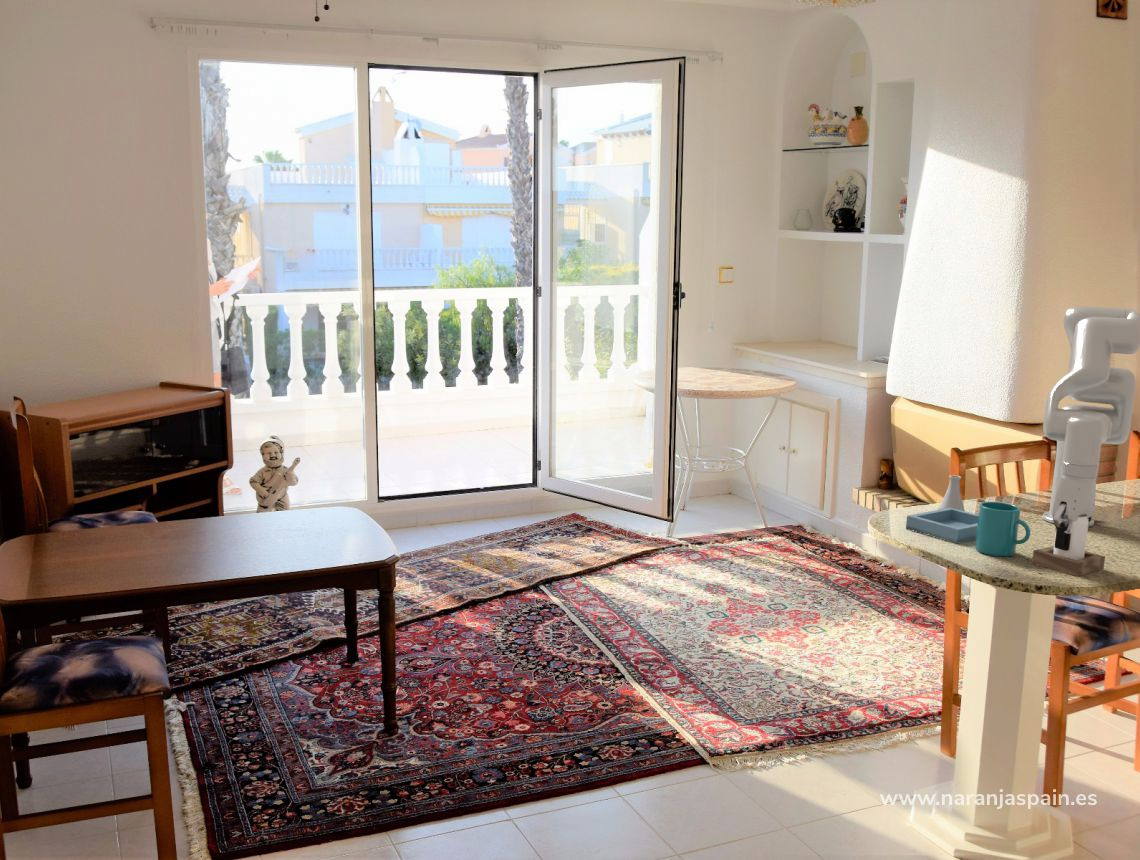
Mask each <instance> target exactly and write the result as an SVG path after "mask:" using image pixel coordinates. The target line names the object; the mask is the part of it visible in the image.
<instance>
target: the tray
mask: <svg viewBox="0 0 1140 860" xmlns="http://www.w3.org/2000/svg"><path fill="white" fill-rule="evenodd" d="M978 515H979V514H977V513H973V512H969V511H962V510H958V509H954V508H945V509H940V510H939V509H935V510H930V511H924V512H919V513H914V514H909V515H907V516H906V522H905V523H906V524H905V530H908V529H910V530H909V531H911V530H914V531H913V532H915V531H917V532H916V533H918V532H921V533H920V534H922V533H925V534H929V535H932V536H935V537H934V538H936V537H938V538H937V539H939V538H942V539H941V540H943V539H945V540H944V541H946V540H948V541H947V542H950V541H951V542H950V543H953V542H954V544H960V543H959V542H962V543H965V541H966V542H970V541H969V540H971V541H976V533H977V524H978ZM925 534H924V535H925ZM929 535H928V536H929ZM932 536H931V537H932Z"/></svg>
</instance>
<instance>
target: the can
mask: <svg viewBox="0 0 1140 860" xmlns="http://www.w3.org/2000/svg"><path fill="white" fill-rule="evenodd" d="M1063 518H1064V519H1068V517H1065V516H1063ZM1062 523H1064V524H1065V526H1066V525H1067V522H1064V521H1062ZM1088 529H1089V528H1088V519H1087V515H1086V516H1082V517H1079V518H1078V519H1077V521H1074V522H1072V525H1071V529H1070V532H1069V534H1071V537H1070V545H1069V550H1068V551H1065V550H1061V549H1058V548H1055V542H1054V545H1053V546H1054V552H1053V554H1055V555H1059V556H1062V557H1066V558H1070V559H1073V560H1079V559H1083V558H1084V554H1085V551H1086V544H1087V538H1088ZM1055 538H1056V534H1055V536H1054V539H1055Z"/></svg>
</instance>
